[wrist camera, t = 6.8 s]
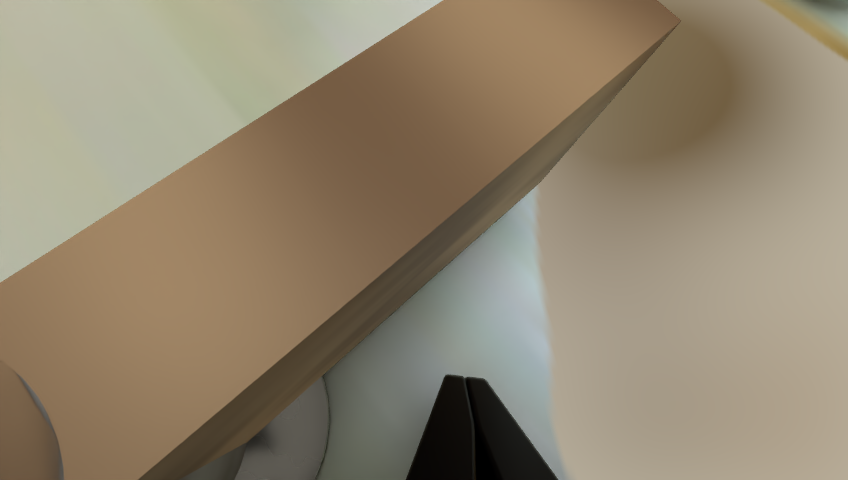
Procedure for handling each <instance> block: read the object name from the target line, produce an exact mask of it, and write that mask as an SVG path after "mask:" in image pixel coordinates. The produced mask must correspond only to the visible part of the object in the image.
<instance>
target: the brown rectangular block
mask: <svg viewBox="0 0 848 480" xmlns="http://www.w3.org/2000/svg"><path fill="white" fill-rule="evenodd" d="M680 22H681V20H680V19H679V18H677V17H676V16H675V15H674V14H673V13H672V12H670V11H669V10H668V9H667V8H666V7H664V6H663V5H662V4H661V3H660V2H659V1H657V0H443V1H442V2H440V3H439V4H437V5H435V6H434V7H432V8H431V9H429V10H428V11H426V12H424V13H423V14H421V15H420V16H418V17H417V18H415V19H413V20H412V21H410V22H409V23H407V24H406V25H404V26H402V27H401V28H399V29H398V30H396V31H395V32H393V33H391V34H390V35H388V36H387V37H385V38H384V39H382V40H380V41H379V42H377V43H376V44H374V45H373V46H371V47H369V48H368V49H366V50H365V51H363V52H362V53H360V54H358V55H357V56H355V57H354V58H352V59H351V60H349V61H348V62H346V63H344V64H343V65H341V66H340V67H338V68H337V69H335V70H333V71H332V72H330V73H329V74H327V75H326V76H324V77H322V78H321V79H319V80H318V81H316V82H315V83H313V84H311V85H310V86H308V87H307V88H305V89H304V90H302V91H300V92H299V93H297V94H296V95H294V96H293V97H291V98H289V99H288V100H286V101H285V102H283V103H282V104H280V105H278V106H277V107H275V108H274V109H272V110H271V111H269V112H267V113H266V114H264V115H263V116H261V117H260V118H258V119H256V120H255V121H253V122H252V123H250V124H249V125H247V126H246V127H244V128H242V129H241V130H239V131H238V132H236V133H235V134H233V135H231V136H230V137H228V138H227V139H225V140H224V141H222V142H220V143H219V144H217V145H216V146H214V147H213V148H211V149H209V150H208V151H206V152H205V153H203V154H202V155H200V156H198V157H197V158H195V159H194V160H192V161H191V162H189V163H187V164H186V165H184V166H183V167H181V168H180V169H178V170H176V171H175V172H173V173H172V174H170V175H169V176H167V177H165V178H164V179H162V180H161V181H159V182H158V183H156V184H155V185H153V186H151V187H150V188H148V189H147V190H145V191H144V192H142V193H140V194H139V195H137V196H136V197H134V198H133V199H131V200H129V201H128V202H126V203H125V204H123V205H122V206H120V207H118V208H117V209H115V210H114V211H112V212H111V213H109V214H107V215H106V216H104V217H103V218H101V219H100V220H98V221H96V222H95V223H93V224H92V225H90V226H89V227H87V228H85V229H84V230H82V231H81V232H79V233H78V234H76V235H74V236H73V237H71V238H70V239H68V240H67V241H65V242H63V243H62V244H60V245H59V246H57V247H56V248H54V249H53V250H51V251H49V252H48V253H46V254H45V255H43V256H42V257H40V258H38V259H37V260H35V261H34V262H32V263H31V264H29V265H27V266H26V267H24V268H23V269H21V270H20V271H18V272H16V273H15V274H13V275H12V276H10V277H9V278H7V279H5V280H4V281H2V282H1V283H0V480H235V477H236V475H237V473H238V471H239V469H240V466H241V463H242V460H243V457H244V452H245V448H246V443H247V442H248V441H249V440H250V439H251V438H253V437H254V436H255V435H256V434H257V433H258V432H259V431H260V430H262V429H263V428H264V427H265V426H266V425H267V424H268V423H269V422H271V421H272V420H273V419H274V418H275V417H276V416H277V415H278V414H280V413H281V412H282V411H283V410H284V409H285V408H286V407H287V406H289V405H290V404H291V403H292V402H293V401H294V400H295V399H297V398H298V397H299V396H300V395H301V394H302V393H303V392H304V391H306V390H307V389H308V388H309V387H310V386H311V385H312V384H313V383H315V382H316V381H317V380H318V379H319V378H320V377H321V376H322V375H324V374H325V373H326V372H327V371H328V370H329V369H330V368H331V367H333V366H334V365H335V364H336V363H337V362H338V361H339V360H340V359H342V358H343V357H344V356H345V355H346V354H347V353H348V352H349V351H351V350H352V349H353V348H354V347H355V346H356V345H357V344H358V343H360V342H361V341H362V340H363V339H364V338H365V337H366V336H367V335H369V334H370V333H371V332H372V331H373V330H374V329H375V328H377V327H378V326H379V325H380V324H381V323H382V322H383V321H384V320H386V319H387V318H388V317H389V316H390V315H391V314H392V313H393V312H395V311H396V310H397V309H398V308H399V307H400V306H401V305H402V304H404V303H405V302H406V301H407V300H408V299H409V298H410V297H411V296H413V295H414V294H415V293H416V292H417V291H418V290H419V289H420V288H422V287H423V286H424V285H425V284H426V283H427V282H428V281H429V280H431V279H432V278H433V277H434V276H435V275H436V274H437V273H438V272H440V271H441V270H442V269H443V268H444V267H445V266H446V265H447V264H449V263H450V262H451V261H452V260H453V259H454V258H455V257H456V256H458V255H459V254H460V253H461V252H462V251H463V250H464V249H466V248H467V247H468V246H469V245H470V244H471V243H472V242H473V241H475V240H476V239H477V238H478V237H479V236H480V235H481V234H482V233H484V232H485V231H486V230H487V229H488V228H489V227H490V226H491V225H493V224H494V223H495V222H496V221H497V220H498V219H499V218H500V217H502V216H503V215H504V214H505V213H506V212H507V211H508V210H509V209H511V208H512V207H513V206H514V205H515V204H516V203H517V202H518V201H520V200H521V199H522V198H523V197H524V196H525V195H526V194H527V193H529V192H530V191H531V190H532V189H533V188H534V187H535V186H536V185H538V184H539V183H540V182H541V181H542V180H543V178H544V177H545V176H546V175H547V174H548V173H549V172H550V170H551V169H552V168H553V167H554V166H555V165H556V164H557V162H558V161H559V160H560V159H561V158H562V157H563V156H564V154H565V153H566V152H567V151H568V150H569V149H570V148H571V146H572V145H573V144H574V143H575V142H576V141H577V139H578V138H579V137H580V136H581V135H582V134H583V133H584V131H585V130H586V129H587V128H588V127H589V126H590V125H591V124H592V122H593V121H594V120H595V119H596V118H597V117H598V115H599V114H600V113H601V112H602V111H603V110H604V109H605V108H606V106H607V105H608V104H609V103H610V102H611V101H612V100H613V98H614V97H615V96H616V95H617V94H618V93H619V92H620V90H621V89H622V88H623V87H624V86H625V85H626V84H627V82H628V81H629V80H630V79H631V78H632V77H633V76H634V74H635V73H636V72H637V71H638V70H639V69H640V68H641V66H642V65H643V64H644V63H645V62H646V61H647V59H648V58H649V57H650V56H651V55H652V54H653V53H654V52H655V50H656V49H657V48H658V47H659V46H660V45H661V44H662V42H663V41H664V40H665V39H666V38H667V37H668V35H669V34H670V33H671V32H672V31H673V30H674V29H675V27H676V26H677V25H678V24H679V23H680Z"/></svg>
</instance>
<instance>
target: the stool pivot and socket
mask: <svg viewBox="0 0 848 480" xmlns="http://www.w3.org/2000/svg"><path fill="white" fill-rule="evenodd" d="M329 419H330V414H329V400H328V394H327V389H326V384H325V381H324V378H323V375H322V376H321V377H320V378H319V379H318V380H317V381H316V382H315V383H313V384H312V385H311V386H310V387H309V388H308V389H307V390H306V391H304V392H303V393H302V394H301V395H300V396H299V397H298V398H297V399H295V400H294V401H293V402H292V403H291V404H290V405H289V406H287V407H286V408H285V409H284V410H283V411H282V412H281V413H280V414H278V415H277V416H276V417H275V418H274V419H273V420H272V421H271V422H269V423H268V424H267V425H266V426H265V427H264V428H263V429H262V430H260V431H259V432H258V433H257V434H256V435H255V436H254V437H253V438H251V439H250V440H249V441H248V442H247V443H246V448H245V452H244V457H243V460H242V463H241V466H240V469H239V471H238V473H237V475H236V477H235V480H315V478H316V476H317V474H318V471H319V469H320V467H321V463H322V460H323V457H324V454H325V450H326V445H327V440H328V434H329Z"/></svg>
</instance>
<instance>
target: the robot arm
mask: <svg viewBox="0 0 848 480" xmlns="http://www.w3.org/2000/svg"><path fill="white" fill-rule="evenodd" d="M406 480H558V479H557V477H556V476H555V474H554V473H553V472H552V470H551V469H550V468H549V466H548V465H547V463H546V462H545V461H544V459H543V458H542V457H541V455H540V454H539V452H538V451H537V450H536V448H535V447H534V446H533V444H532V443H531V441H530V440H529V439H528V437H527V436H526V435H525V433H524V432H523V430H522V429H521V428H520V426H519V425H518V424H517V422H516V421H515V419H514V418H513V417H512V415H511V414H510V413H509V411H508V410H507V408H506V407H505V406H504V404H503V403H502V402H501V400H500V399H499V397H498V396H497V395H496V393H495V392H494V390H493V389H492V388H491V386H490V385H489V384H488V382H487V381H486V380H485V379H483V378H475V377H466V378H464V377H463V376H458V375H449V374H447V375H445V377H444V379H443V382H442V385H441V387H440V390H439V393H438V395H437V398H436V401H435V403H434V406H433V408H432V411H431V414H430V416H429V419H428V422H427V424H426V427H425V430H424V432H423V435H422V438H421V440H420V443H419V446H418V448H417V451H416V454H415V456H414V459H413V462H412V464H411V467H410V470H409V472H408V475H407V478H406Z"/></svg>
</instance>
